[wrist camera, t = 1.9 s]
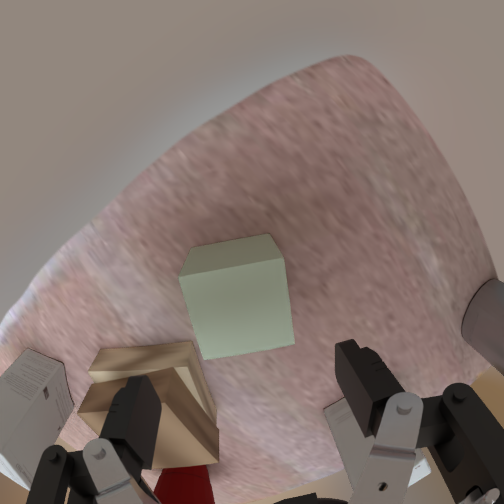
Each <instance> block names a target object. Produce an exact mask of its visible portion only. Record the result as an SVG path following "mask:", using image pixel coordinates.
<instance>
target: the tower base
mask: <svg viewBox="0 0 504 504" xmlns="http://www.w3.org/2000/svg"><path fill="white" fill-rule="evenodd" d="M170 367H174V369H175V370H176V372H177V373H178V375H179V376H180V378H181V379H182V381H183V382H184V384H185V385H186V386H187V388H188V389H189V391H190V392H191V394H192V395H193V396H194V398H195V399H196V400H197V402H198V403H199V405H200V406H201V407H202V409H203V410H204V411H205V413H206V414H207V415H208V416H209V418H210V419H211V420H212V422H213V423H214V424H215V425H216V419H217V410H216V407H215V405H214V402H213V399H212V397H211V394H210V391H209V389H208V386H207V383H206V381H205V378H204V375H203V372H202V369H201V367H200V364H199V361H198V358H197V355H196V352H195V349H194V346H193V343H192V341H188V342H179V343H171V344H161V345H151V346H140V347H128V348H114V349H101V350H100V351H99V353H98V355H97V356H96V358H95V360H94V361H93V363H92V365H91V367H90V368H89V370H88V373H89V375H90V376H91V378H92V380H93V382H94V383H100V382H106V381H111V380H116V379H121V378H126V377H130V376H136V375H140V374H145V373H149V372H154V371H158V370H162V369H166V368H170Z"/></svg>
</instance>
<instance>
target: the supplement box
mask: <svg viewBox="0 0 504 504" xmlns="http://www.w3.org/2000/svg"><path fill="white" fill-rule="evenodd" d="M324 413H325V416H326V419H327V421H328V424H329V427H330V430H331V432H332V435H333V437H334V440H335V443H336V446H337V448H338V451H339V453H340V456H341V459H342V461H343V464H344V467H345V470H346V472H347V475H348V478H349V480H350V483H351V486H352V489H353V491H354V490H355V488H356V485H357V483H358V481H359V479H360V476H361V474H362V472H363V469H364V467H365V464H366V462H367V459H368V457H369V454H370V451H371V449H372V447H373V444H374V442H375V438H374V436H373V435H372V436H369V437H367V438H365V437H364V435H363V433H362V431H361V429H360V427H359V425H358V423H357V421H356V419H355V416H354V414H353V412H352V410H351V408H350V406H349V404H348V402H347V400H346V398H345V397H344V398H343V399H341V400H339V401H338V402H336V403H334V404H332V405H330V406H329V407H327V408H325V409H324ZM415 453H416V459H415V463H414V467H413V471H412V474H411V478H410V481H409V485H408V487H409V486H410V485H412V484H414V483H415V482H417V481H419V480H420V479H422V478H423V477H425V476H426V475H428V474H429V473H430V472H431V469H430V467H429V464H428V463H427V460H426V457H425V455H424V454H423V452H422V450H421V448H417V449H415Z"/></svg>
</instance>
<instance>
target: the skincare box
mask: <svg viewBox="0 0 504 504" xmlns="http://www.w3.org/2000/svg"><path fill="white" fill-rule="evenodd" d="M73 408H74V405H73V402H72V400H71V397H70V394H69V390H68V386H67V381H66V376H65V369H64V365H63V364H62V363H61V362H58V361H56V360H54V359H51V358H49V357H47V356H44V355H42V354H40V353H38V352H35V351H33V350H31V349H29V348H27V349H26V350H25V351H24V352H23V353H22V354H21V355H20V356H19V357H18V358H17V359H16V360H15V362H14V363H13V364H12V365H11V366H10V367H9V368H8V369H7V370H6V371H5V372H4V373H3V374H2V375H1V377H0V472H1V473H3V474H4V475H6V476H7V477H9V478H10V479H12V480H13V481H15V482H16V483H18V484H19V485H21V486H22V487H24V488H25V489H27V490H29V491H30V488H31V485H32V482H33V479H34V476H35V473H36V470H37V467H38V464H39V461H40V459H41V456H42V454H43V452H44V450H45V449H46V448H48V447H49V446H52V445H54V443H55V442H56V440H57V438H58V436H59V434H60V432H61V430H62V428H63V427H64V425H65V423H66V421H67V420H68V418H69V416H70V414H71V413H72V411H73Z"/></svg>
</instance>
